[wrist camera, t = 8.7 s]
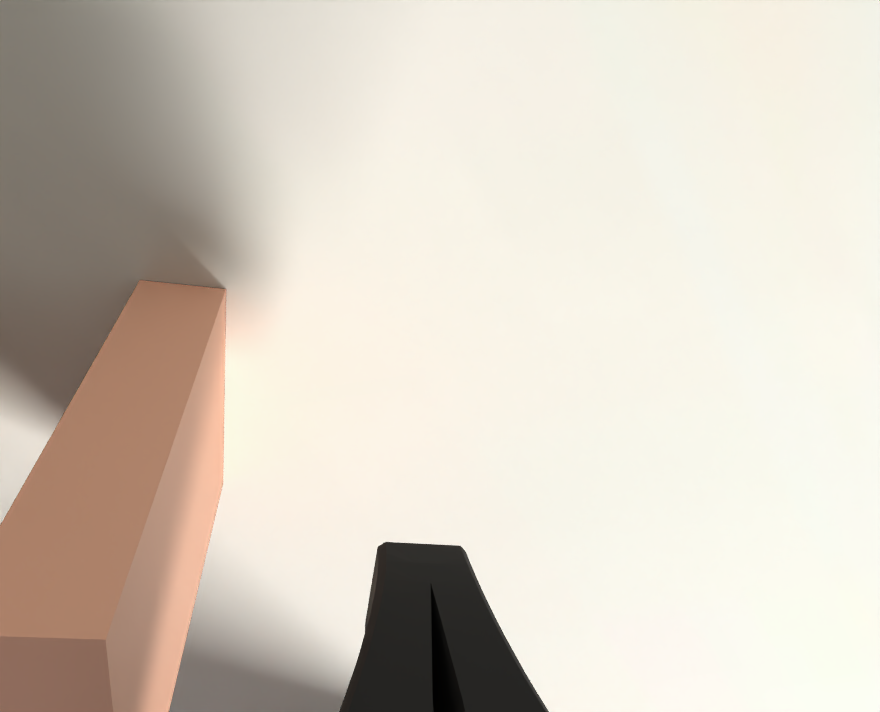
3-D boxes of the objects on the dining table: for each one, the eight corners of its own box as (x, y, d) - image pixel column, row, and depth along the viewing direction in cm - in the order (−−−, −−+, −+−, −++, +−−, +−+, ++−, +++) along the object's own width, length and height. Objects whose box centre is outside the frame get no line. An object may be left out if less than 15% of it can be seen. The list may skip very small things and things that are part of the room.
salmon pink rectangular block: (226, 289, 15) (105, 639, 8) (222, 484, 17) (130, 874, 10) (139, 280, 14) (-63, 634, 8) (149, 479, 17) (6, 875, 10)
